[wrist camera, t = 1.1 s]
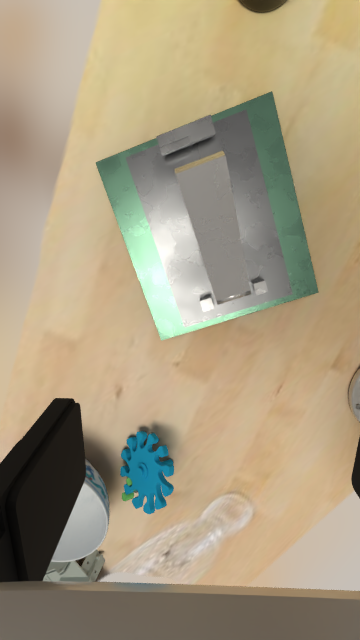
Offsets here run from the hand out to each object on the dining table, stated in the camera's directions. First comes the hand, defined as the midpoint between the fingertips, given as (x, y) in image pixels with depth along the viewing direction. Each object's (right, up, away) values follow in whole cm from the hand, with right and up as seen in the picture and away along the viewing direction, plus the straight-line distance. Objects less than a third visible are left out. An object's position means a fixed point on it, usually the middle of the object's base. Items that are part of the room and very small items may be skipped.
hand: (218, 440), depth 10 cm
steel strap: (+2, +11, +17) cm, 20 cm away
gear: (-6, -16, +35) cm, 39 cm away
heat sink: (+2, +15, +26) cm, 30 cm away
